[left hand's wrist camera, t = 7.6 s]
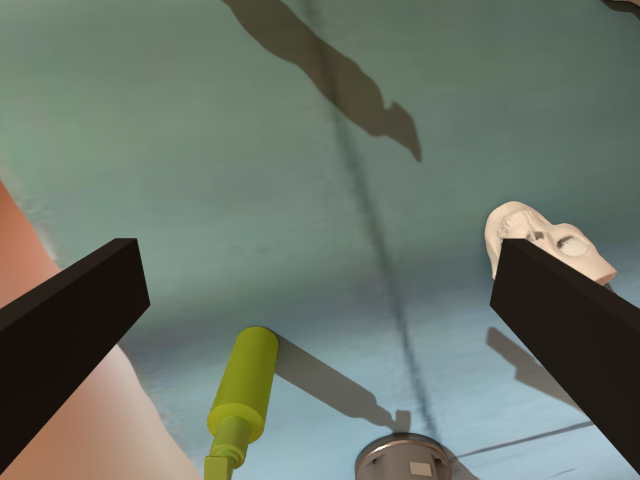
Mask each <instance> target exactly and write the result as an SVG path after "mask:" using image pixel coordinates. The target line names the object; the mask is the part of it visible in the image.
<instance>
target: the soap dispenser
mask: <svg viewBox="0 0 640 480" xmlns="http://www.w3.org/2000/svg"><path fill="white" fill-rule="evenodd" d="M278 346H279V344H278V340H277V338H276V336H275V335H274V334H273V333H272V332H271V331H270V330H268V329H266V328H263V327H249V328H247V329H245V330H243V331H242V332H241V333H240V334H239V335H238V337H237V340H236V343H235V345H234V348H233V351H232V353H231V356H230V359H229V362H228V364H227V367H226V370H225V372H224V375H223V378H222V381H221V383H220V386H219V389H218V391H217V394H216V397H215V400H214V402H213V405H212V408H211V411H210V413H209V416H208V419H207V426H208V429H209V431H210V433H211V434H212V435H213V436H214V440H213V443H212V446H211V449H210V453H209V456H206V457H205V462H204V480H231V477H232V473H233V470H234V469H237V468H239V467H240V466H241V465H242V464H243V463H244V461H245V457H246V453H247V448H248V444H250V443H252V442H254V441H256V440H257V439H258V438H259V437H260V436H261V435H262V433H263V431H264V426H265V420H266V415H267V409H268V403H269V398H270V392H271V386H272V381H273V375H274V369H275V364H276V358H277V353H278Z"/></svg>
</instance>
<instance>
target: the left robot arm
mask: <svg viewBox="0 0 640 480" xmlns="http://www.w3.org/2000/svg"><path fill="white" fill-rule="evenodd" d="M149 306H150V300H149V295H148V291H147V286H146V281H145V276H144V271H143V266H142V261H141V256H140V251H139V246H138V241H137V238H115V239H113V240H112V241H110V242H109V243H107V244H105V245H104V246H102V247H100V248H99V249H97V250H96V251H94V252H92V253H91V254H89V255H87V256H86V257H84V258H82V259H81V260H79V261H78V262H76V263H74V264H73V265H71V266H69V267H68V268H66V269H65V270H63V271H61V272H60V273H58V274H56V275H55V276H53V277H52V278H50V279H48V280H47V281H45V282H43V283H42V284H40V285H39V286H37V287H35V288H34V289H32V290H30V291H29V292H27V293H25V294H24V295H22V296H21V297H19V298H17V299H16V300H14V301H12V302H11V303H9V304H7V305H6V306H4V307H3V308H1V309H0V475H1V474H2V473H3V472H4V471H5V469H6V468H7V467H8V466H9V465H10V464H11V463H12V461H13V460H14V459H15V458H16V457H17V456H18V455H19V454H20V452H21V451H22V450H23V449H24V448H25V447H26V446H27V444H28V443H29V442H30V441H31V440H32V439H33V438H34V437H35V435H36V434H37V433H38V432H39V431H40V430H41V429H42V427H43V426H44V425H45V424H46V423H47V422H48V421H49V419H50V418H51V417H52V416H53V415H54V414H55V413H56V412H57V410H58V409H59V408H60V407H61V406H62V405H63V404H64V402H65V401H66V400H67V399H68V398H69V397H70V396H71V395H72V393H73V392H74V391H75V390H76V389H77V388H78V387H79V385H80V384H81V383H82V382H83V381H84V380H85V379H86V378H87V376H88V375H89V374H90V373H91V372H92V371H93V370H94V368H95V367H96V366H97V365H98V364H99V363H100V362H101V361H102V359H103V358H104V357H105V356H106V355H107V354H108V353H109V351H110V350H111V349H112V348H113V347H114V346H115V345H116V344H117V342H118V341H119V340H120V339H121V338H122V337H123V336H124V334H125V333H126V332H127V331H128V330H129V329H130V328H131V327H132V325H133V324H134V323H135V322H136V321H137V320H138V319H139V317H140V316H141V315H142V314H143V313H144V312H145V311H146V310H147V308H148V307H149ZM490 306H491V307H492V308H493V310H494V311H495V312H496V313H497V314H498V315H499V316H500V317H501V319H502V320H503V321H504V322H505V323H506V324H507V325H508V327H509V328H510V329H511V330H512V331H513V332H514V333H515V334H516V336H517V337H518V338H519V339H520V340H521V341H522V342H523V344H524V345H525V346H526V347H527V348H528V349H529V350H530V351H531V353H532V354H533V355H534V356H535V357H536V358H537V359H538V361H539V362H540V363H541V364H542V365H543V366H544V367H545V369H546V370H547V371H548V372H549V373H550V374H551V375H552V376H553V378H554V379H555V380H556V381H557V382H558V383H559V384H560V386H561V387H562V388H563V389H564V390H565V391H566V392H567V393H568V395H569V396H570V397H571V398H572V399H573V400H574V401H575V403H576V404H577V405H578V406H579V407H580V408H581V409H582V410H583V412H584V413H585V414H586V415H587V416H588V417H589V418H590V420H591V421H592V422H593V423H594V424H595V425H596V426H597V427H598V429H599V430H600V431H601V432H602V433H603V434H604V435H605V437H606V438H607V439H608V440H609V441H610V442H611V443H612V444H613V446H614V447H615V448H616V449H617V450H618V451H619V452H620V454H621V455H622V456H623V457H624V458H625V459H626V460H627V461H628V463H629V464H630V465H631V466H632V467H633V468H634V469H635V471H636V472H637V473H638V474H639V475H640V309H639V308H637V307H636V306H634V305H632V304H631V303H629V302H628V301H626V300H624V299H623V298H621V297H619V296H618V295H616V294H615V293H613V292H611V291H610V290H608V289H606V288H605V287H603V286H602V285H600V284H598V283H597V282H595V281H593V280H592V279H590V278H588V277H587V276H585V275H584V274H582V273H580V272H579V271H577V270H575V269H574V268H572V267H571V266H569V265H567V264H566V263H564V262H562V261H561V260H559V259H558V258H556V257H554V256H553V255H551V254H549V253H548V252H546V251H544V250H543V249H541V248H540V247H538V246H536V245H535V244H533V243H531V242H530V241H528V240H527V239H525V238H503V241H502V246H501V251H500V256H499V261H498V266H497V271H496V276H495V281H494V286H493V291H492V295H491V300H490ZM355 479H356V480H452V477H451V467H450V464H449V462H448V459H447V456H446V454H445V452H444V450H443V449H442V447H441V446H440V445H439V444H437V443H436V442H435V441H433V440H431V439H429V438H427V437H425V436H421V435H417V434H410V433H400V434H393V435H388V436H385V437H382V438H379V439H377V440H375V441H373V442H372V443H370V444H369V445H367V446H366V447H365V448H364V449H363V450H362V451H361V452H360V454H359V455H358V457H357V459H356V462H355Z"/></svg>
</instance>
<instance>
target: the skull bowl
mask: <svg viewBox="0 0 640 480" xmlns="http://www.w3.org/2000/svg"><path fill="white" fill-rule="evenodd" d="M535 237H536V238H537V239H538V240H536V238H535ZM503 238H525V239H527V240H528V241H530V242H531V243H533V244H535V245H536V246H538V247H540V248H541V249H543V250H544V251H546V252H548V253H549V254H551V255H553V256H554V257H556V258H558V259H559V260H561V261H562V262H564V263H566V264H567V265H569V266H571V267H572V268H574V269H575V270H577V271H579V272H580V273H582V274H584V275H585V276H587V277H588V278H590V279H592V280H593V281H595V282H597V283H598V284H600V285H604V284H605V283H607V282H608V281H610V280H611V279H612V278H613V277H614V276H615V275H616V273H617V271H616V270H615V269H614V268H613V267H612V266H611V265H610V264H609V263H608V262H607V261H605V260H604V259H603V258H602V257H601V256H600V255H599V253H598V252H597V250H596V248H595V246H594V245H593V244H592V243H591V242H590V241H589V240H588V239H587V238H586V237H585V236H584V235H583V233H582V232H581V231H580V230H579V229H578V228H576V227H575V226H573V225H570V224H566V223H563V224H559V225H552V224H551V223H550V222H549V221H547V220H546V219H545V218H544V217H543V216H542V215H541V214H540V213H538V212H537V211H536V210H534V209H533V208H531V207H529V206H527V205H525V204H523V203H520V202H515V201H512V202H508V203H505V204H503V205H501V206H500V207H498V208H496V209H495V210H494V211H493V212H492V213H491V214H490V215H489V217H488V220H487V223H486V228H485V241H486V248H487V252H488V255H489V257H490V260H491V264H492V271H493V275H492V277H493V279H494V280H495V276H496V271H497V266H498V261H499V256H500V251H501V246H502V241H503ZM558 241H560V242H561V241H562V242H561V243H559V244H558V243H557V242H558ZM557 245H558V246H557ZM558 247H559V248H558Z"/></svg>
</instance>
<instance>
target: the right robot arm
mask: <svg viewBox="0 0 640 480" xmlns="http://www.w3.org/2000/svg"><path fill="white" fill-rule="evenodd" d="M613 1H630V2H632V3H634V4H636V5H638V6H639V7H640V0H613Z"/></svg>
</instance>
